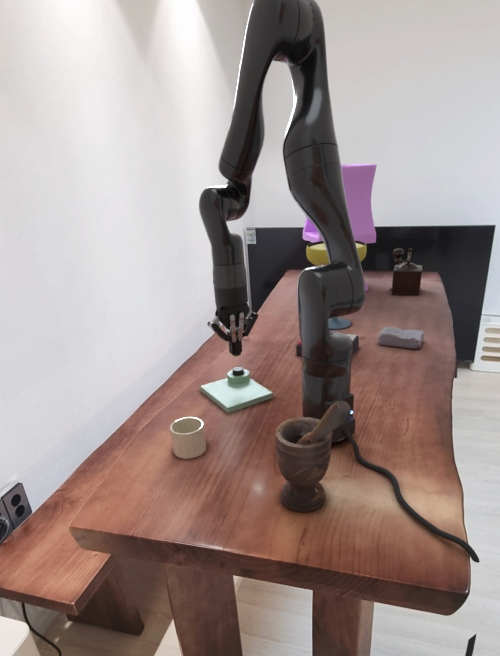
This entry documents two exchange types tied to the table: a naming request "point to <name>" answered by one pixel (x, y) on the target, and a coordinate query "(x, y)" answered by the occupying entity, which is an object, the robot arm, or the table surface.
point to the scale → (236, 392)
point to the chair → (354, 204)
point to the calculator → (354, 337)
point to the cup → (188, 437)
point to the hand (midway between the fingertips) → (236, 354)
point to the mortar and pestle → (307, 456)
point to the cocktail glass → (319, 257)
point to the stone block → (401, 337)
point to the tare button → (238, 371)
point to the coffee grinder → (405, 275)
